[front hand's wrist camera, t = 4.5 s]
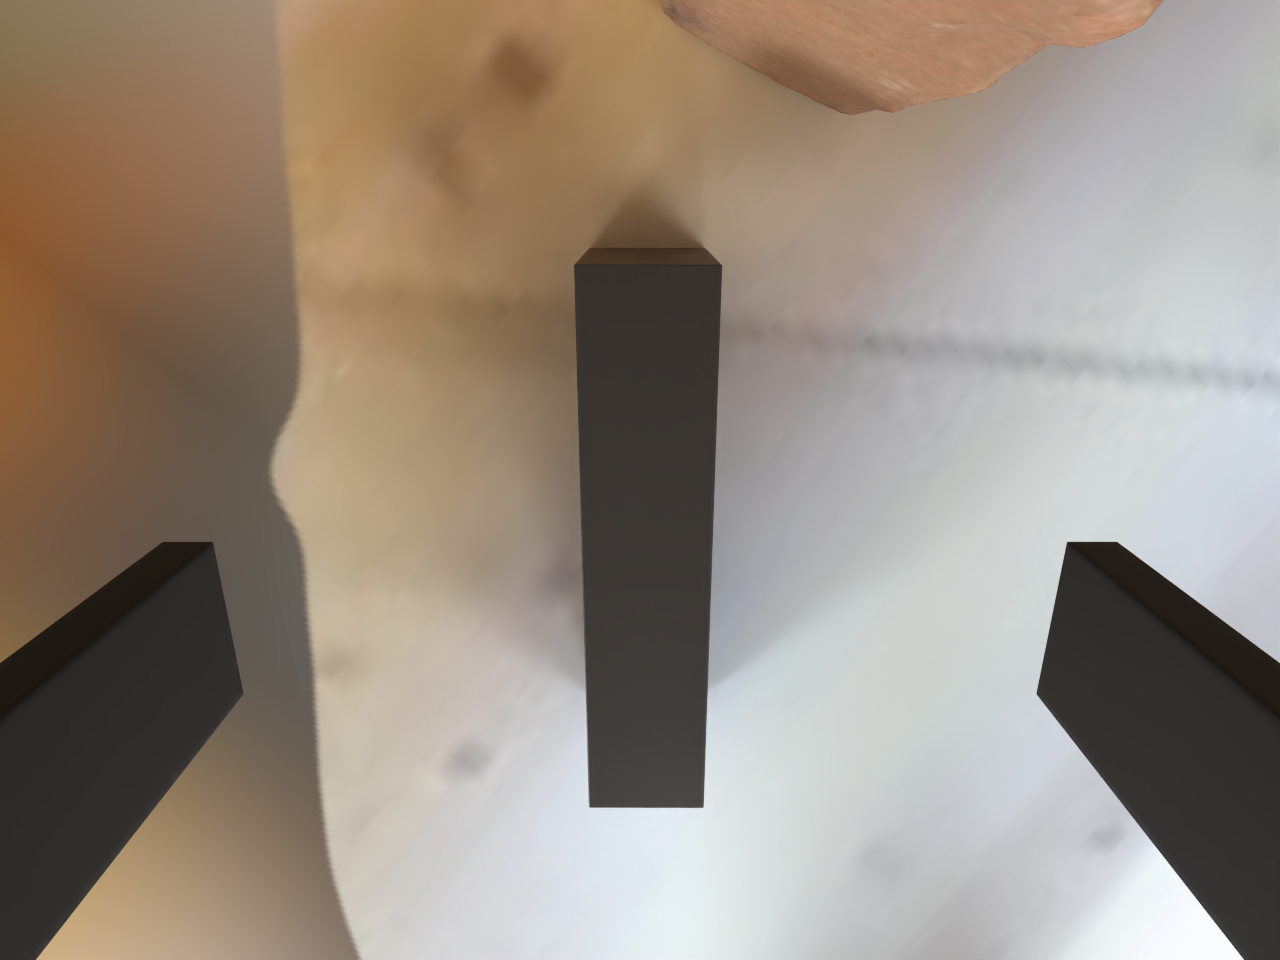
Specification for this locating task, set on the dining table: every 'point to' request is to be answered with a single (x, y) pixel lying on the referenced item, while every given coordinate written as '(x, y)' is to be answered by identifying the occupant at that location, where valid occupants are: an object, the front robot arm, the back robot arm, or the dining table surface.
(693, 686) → the bar
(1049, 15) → the stone
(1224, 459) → the dining table surface
